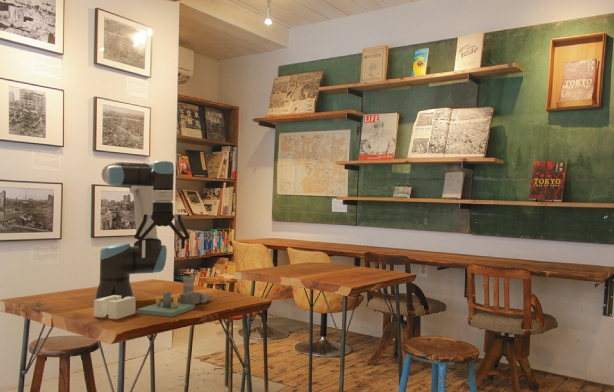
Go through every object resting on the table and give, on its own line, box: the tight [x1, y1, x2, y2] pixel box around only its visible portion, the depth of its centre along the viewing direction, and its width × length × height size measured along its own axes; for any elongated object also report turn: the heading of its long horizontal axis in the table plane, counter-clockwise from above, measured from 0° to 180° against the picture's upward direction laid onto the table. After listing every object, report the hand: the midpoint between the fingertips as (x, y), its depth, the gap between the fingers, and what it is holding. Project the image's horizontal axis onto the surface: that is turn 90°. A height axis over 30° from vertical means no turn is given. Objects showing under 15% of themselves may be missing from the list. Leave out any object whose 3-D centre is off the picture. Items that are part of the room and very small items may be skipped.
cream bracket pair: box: [93, 295, 137, 320], centre depth 181 cm, size 10×10×6 cm
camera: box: [178, 275, 213, 306], centre depth 202 cm, size 9×12×15 cm
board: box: [137, 291, 196, 318], centre depth 189 cm, size 15×15×7 cm
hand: (162, 257), depth 189 cm, fingers open, 13 cm apart
